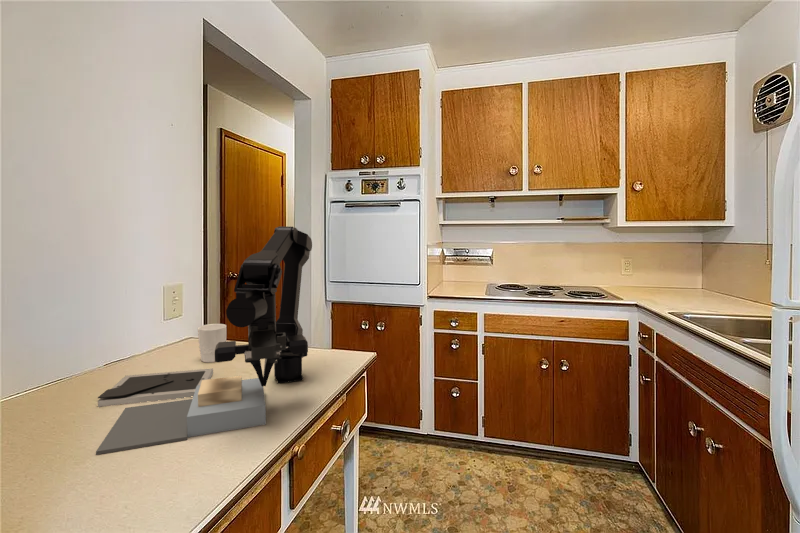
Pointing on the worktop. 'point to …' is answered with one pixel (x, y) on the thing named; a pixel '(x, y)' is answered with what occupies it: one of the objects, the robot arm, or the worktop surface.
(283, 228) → the robot arm
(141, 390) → the picture frame
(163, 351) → the worktop surface
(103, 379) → the worktop surface
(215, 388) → the coaster
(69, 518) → the worktop surface
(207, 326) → the white cup
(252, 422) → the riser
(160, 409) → the rubber mat
